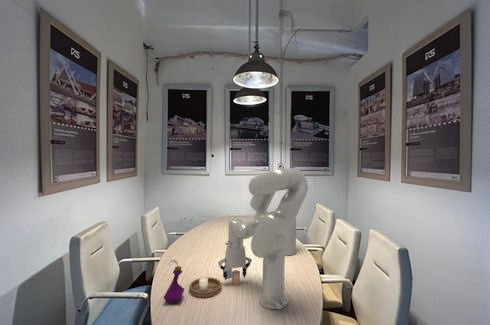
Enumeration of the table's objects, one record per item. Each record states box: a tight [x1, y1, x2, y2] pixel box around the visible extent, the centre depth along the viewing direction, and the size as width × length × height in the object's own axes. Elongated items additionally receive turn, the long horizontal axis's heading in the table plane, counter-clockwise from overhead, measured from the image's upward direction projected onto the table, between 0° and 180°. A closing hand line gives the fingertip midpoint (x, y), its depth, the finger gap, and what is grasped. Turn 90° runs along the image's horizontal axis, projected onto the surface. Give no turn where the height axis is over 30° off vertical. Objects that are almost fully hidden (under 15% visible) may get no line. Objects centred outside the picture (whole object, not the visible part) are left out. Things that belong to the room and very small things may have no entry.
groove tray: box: [188, 276, 222, 299], centre depth 123 cm, size 15×15×2 cm
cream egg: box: [198, 276, 208, 292], centre depth 119 cm, size 4×4×6 cm
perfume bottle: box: [163, 258, 185, 304], centre depth 114 cm, size 8×8×18 cm
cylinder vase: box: [284, 217, 297, 257], centre depth 171 cm, size 12×12×25 cm
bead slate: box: [226, 268, 233, 279], centre depth 137 cm, size 4×4×6 cm
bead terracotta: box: [231, 269, 241, 287], centre depth 129 cm, size 4×4×6 cm
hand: (234, 277), depth 129 cm, fingers open, 9 cm apart
